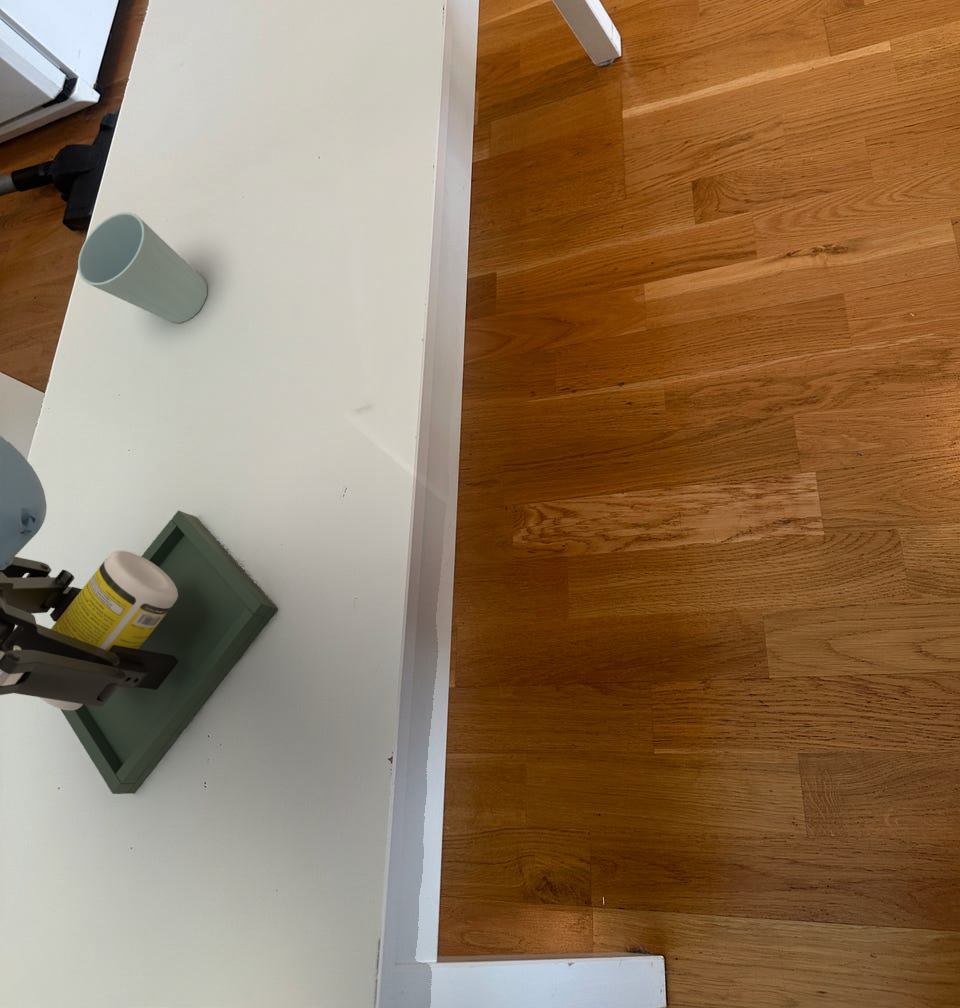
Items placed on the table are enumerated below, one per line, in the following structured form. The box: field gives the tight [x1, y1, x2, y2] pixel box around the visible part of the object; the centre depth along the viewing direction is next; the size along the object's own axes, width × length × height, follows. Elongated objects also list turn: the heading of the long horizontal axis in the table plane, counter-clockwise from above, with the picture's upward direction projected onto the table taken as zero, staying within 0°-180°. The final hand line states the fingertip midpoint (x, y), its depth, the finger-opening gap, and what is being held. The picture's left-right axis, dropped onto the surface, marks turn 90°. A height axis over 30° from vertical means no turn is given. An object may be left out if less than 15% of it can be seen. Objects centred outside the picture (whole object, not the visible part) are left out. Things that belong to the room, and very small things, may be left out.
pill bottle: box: [38, 550, 178, 710], centre depth 67 cm, size 6×6×11 cm
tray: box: [60, 509, 279, 795], centre depth 72 cm, size 18×13×2 cm
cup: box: [77, 211, 208, 324], centre depth 85 cm, size 8×8×10 cm
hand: (144, 644), depth 71 cm, fingers closed on pill bottle, 6 cm apart
